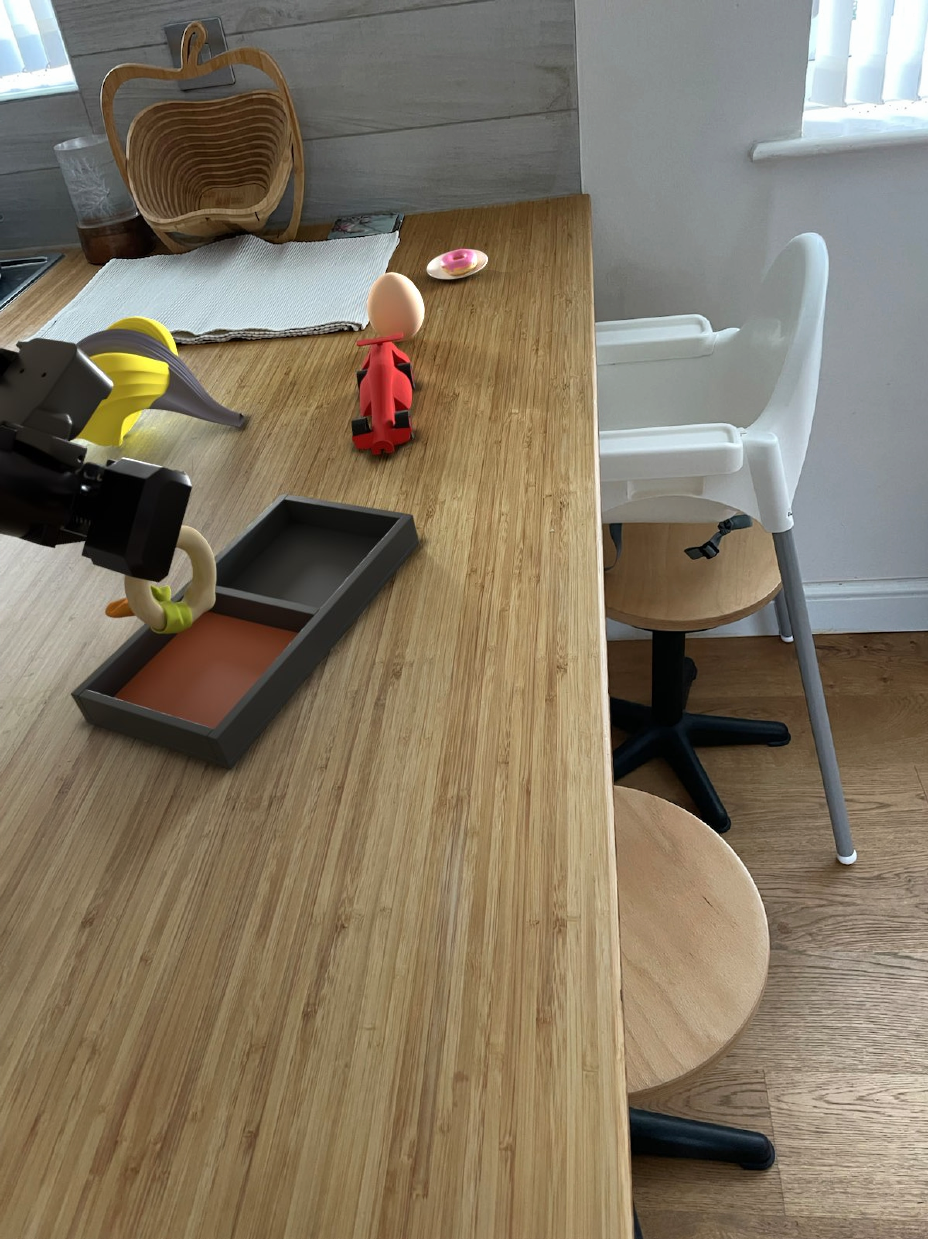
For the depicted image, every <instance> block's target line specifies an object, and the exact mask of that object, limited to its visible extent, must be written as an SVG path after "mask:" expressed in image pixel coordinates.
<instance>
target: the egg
mask: <svg viewBox="0 0 928 1239" xmlns="http://www.w3.org/2000/svg"><path fill="white" fill-rule="evenodd" d="M366 312H367V317H368V320H369V323H370V326H371V327H372V329H373V330H374V332H375V333H376V334H378V335H379V337H387V336H390V335H393V334H398V333H402V334H403V337H402V339H400V340H396V341H392V343H393V342H394V343H400V342H401V343H402V342H405V341H407V340H410V339H411V338H413V337H414V336H415V335H416V334H417V333H418V332H419V330H420V328H421V327H422V325H423V322H424V318H425V305H424V301H423V297H422V295H421V293H420V291H419V289H418V288H417V287H416V285H415V284H414V283H413V281H412V280H410V279H409V278H408V277H407V276H405V275H403V274H400V273H398V272H386V273H384V274H381V275H380V276H379V277H378V278H377V279H376V280H374V282H373V283H372V284H371V288H370V289H369V293H368V296H367V301H366Z"/></svg>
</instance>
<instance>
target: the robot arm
mask: <svg viewBox="0 0 928 1239" xmlns="http://www.w3.org/2000/svg"><path fill="white" fill-rule="evenodd" d="M1 278H2V274H1V273H0V279H1ZM76 344H77V343H75V342H71V341H66V340H61V339H60V340H58V339H53V338H46V337H35V338H32V339H30V340H28V341H26V340H18V341H17V342H16V344H15V347H17V348H18V349H19V351H14V350H12V349H11V350H10V349H7V348H3V347H0V535H3V536H9V537H13V538H17V539H20V540H23V541H26V542H29V543H32V544H35V545H38V546H42V547H47V548H50V549H51V548H52V549H56V546H61V545H69V544H76V543H78V544H79V543H83V542H84V543H83V547H82V551H81V554H80V556H81V557H84V558H87V559H90V561H91V563H92V565H94V566H96V567H100V568H103V569H106V570H109V571H111V572H115V573H118V574H122V575H124V576H125V575H127V576H130V577H133V578H138V579H143V580H148V581H151V582H154V583H160V582H162V581H163V580H164V579H166V578H167V577H168V576H169V574H170V570H171V567H172V563H173V559H174V556H175V553H176V545H177V541H178V538H179V534H180V530H181V527H182V525H183V523H184V519H185V516H186V512H187V508H188V504H189V501H190V497H191V494H192V490H193V485H192V482H190V481H191V479H189V478H190V476H189V474H187V475H185V474H182V473H179V472H176V471H174V470H175V469H171V468H168V467H164V466H161V465H158V464H157V465H156V464H153V463H148V462H145V461H140V460H135V459H131V458H126V457H121V458H119V459H118V460H116V459H111V458H107V459H106V462H105V465H103V464H100V463H97V462H91V461H86V462H85V460H86V456H87V453H88V450H89V449H88V447H87V446H84V445H82V444H79V443H75V442H72V441H74V440H76V439H75V438H76V437H77V436H78V435H79V434H80V433H81V432H82V430H83V429H84V427H85V426H86V424H87V423H88V421H89V420H90V418H91V417H92V415H93V414H94V412H95V410H96V409H97V407H98V406H99V404H100V403H101V401H102V400H105V399H107V398H108V396H109V395H110V393H111V391H112V389H113V381H112V379H111V378H110V377H109V376H108V375H107V374H106V373H104V372H103V371H102V370H101V369H100V368H99V367H98V366H97V365H96V364H95V363H94V362H93V361H92V360H91V359H90V358H89V357H88V356H87V355H86V354H85V353H84V352H83V351H82V350H81V349H80V348H79V347H78V346H77V345H76ZM73 439H74V440H73ZM188 476H189V477H188Z"/></svg>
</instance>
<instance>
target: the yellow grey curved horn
mask: <svg viewBox="0 0 928 1239" xmlns="http://www.w3.org/2000/svg"><path fill="white" fill-rule="evenodd" d="M75 344H76V345H77V346H78V347H79V348H80V349H81V350H82V351H83V352H84V353H85V354H86V355H87V356H88V357H89V358H90V359H91V360H92V361H93V362H94V363H95V364H96V365H97V366H98V367H99V368H100V369H101V370H102V371H103V372H104V373H106V374H107V375H108V376H109V377H110V378H111V379H112V381H113V389H112V391H111V393H110V395H109V396H108V398H107V399H105V400H102V401H101V403H100V404H99V406H98V407H97V409H96V410H95V412H94V414H93V415H92V417H91V418H90V420H89V421H88V423H87V424H86V426H85V427H84V429H83V430H82V432H81V433H80V434H79V435H78V436H77V437H76V438H75V439H73V440H72V441H74V440H77V439H78V440H79V439H80V440H83V441H84V440H85V441H88V442H90V443H92V444H94V445H97V446H101V447H110V446H113V447H114V448H120V447H121V446H122V444H123V440H124V436H125V435H127V434H128V433H129V432H130V430H131V429H132V428H133V427H134V426H135V424H136V423H137V422H138V420H139V418H140V416H141V414H142V412H143V411H144V410H157V411H158V410H159V411H167V412H173V413H177V414H181V415H184V416H187V417H188V416H189V417H192V418H196V419H199V420H202V421H206V422H210V423H214V424H218V425H223V426H230V427H236V428H241V427H242V425H243V423H244V419H245V415H244V414H243V413H242V412H238V411H237V410H232V409H231V408H228V407H226V406H224V405H223V404H221V403H219V402H218V401H216V400H215V399H214V398H213V397H212V396H211V395H210V394H209V393H208V392H207V390H206V389H205V387H203V385H202V384H201V382H200V381H199V379H198V378H197V377H196V376H195V374H194V373H193V372H192V370H191V369H190V368H189V367H188V365H187V364H186V363H185V362H184V361H183V360H182V359H181V358H180V357H179V354H178V350H177V345H176V342H175V340H174V337H173V336H172V334H171V333H170V331H169V329H168V328H167V327H166V326H165V325H163V324H162V323H160V322H159V321H157V320H155V319H151V318H147V317H144V316H128V317H124V318H121V319H119V320H117V321H115V322H114V323H112V324H110V325H109V326H108V327H107V328H106V329H103V330H99V331H97V332H94V333H92V334H90V335H89V334H88V336H85V337H84V338H82V339H80V340H79V341H78V342H76V343H75Z"/></svg>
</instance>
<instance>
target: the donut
mask: <svg viewBox="0 0 928 1239" xmlns="http://www.w3.org/2000/svg"><path fill="white" fill-rule="evenodd" d="M488 259H489V258H488V256H487V254H486V253H485V252H483V251H481V250H477V249H473V248H472V249H471V248H459V249H456V250H452V251H447V252H445V253H442V254H440V255H437V256H436V257H434V258H433V259H432V260H431V261H430V262H429V263H428V264H427V266H426V272H427V274H428V275H429V277H433V278H435V279H438V280H458V279H462V278H463V279H464V278H466V277H469V276H472V275H474V274H475V273H478V272H479V271H481V270H482V269H483V268H485V266H486V264H488Z"/></svg>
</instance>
